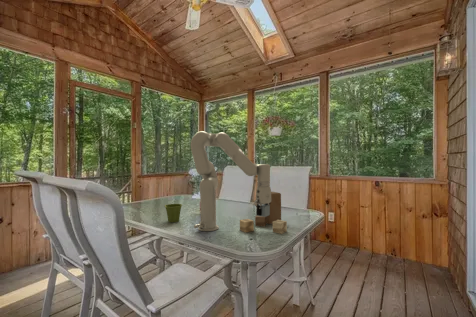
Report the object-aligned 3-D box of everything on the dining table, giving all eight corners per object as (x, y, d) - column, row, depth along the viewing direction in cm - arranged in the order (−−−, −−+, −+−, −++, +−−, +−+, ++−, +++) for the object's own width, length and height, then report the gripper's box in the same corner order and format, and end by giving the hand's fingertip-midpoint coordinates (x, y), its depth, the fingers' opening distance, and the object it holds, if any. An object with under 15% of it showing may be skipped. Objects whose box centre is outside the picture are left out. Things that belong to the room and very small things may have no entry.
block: (281, 223, 156) (281, 192, 156) (269, 225, 151) (268, 194, 152) (273, 219, 165) (273, 191, 165) (261, 221, 160) (260, 192, 161)
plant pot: (161, 223, 159) (161, 206, 159) (171, 218, 170) (170, 203, 170) (176, 224, 156) (176, 207, 156) (185, 219, 167) (185, 204, 167)
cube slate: (265, 216, 137) (265, 206, 137) (256, 215, 140) (256, 205, 140) (269, 215, 142) (269, 205, 142) (260, 213, 145) (261, 204, 145)
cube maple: (281, 234, 133) (281, 223, 133) (272, 232, 136) (272, 221, 136) (286, 231, 137) (286, 221, 137) (277, 229, 141) (277, 219, 141)
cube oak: (245, 232, 136) (245, 222, 136) (239, 230, 141) (239, 220, 141) (253, 231, 139) (253, 220, 139) (248, 228, 144) (248, 218, 144)
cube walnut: (264, 226, 148) (264, 217, 148) (255, 226, 150) (255, 216, 150) (266, 224, 153) (266, 215, 153) (257, 223, 155) (257, 214, 155)
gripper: (259, 185, 132) (258, 217, 132) (276, 184, 145) (276, 213, 145) (249, 184, 138) (248, 215, 137) (267, 183, 150) (266, 211, 150)
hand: (262, 213), depth 141 cm, fingers closed on cube slate, 6 cm apart
